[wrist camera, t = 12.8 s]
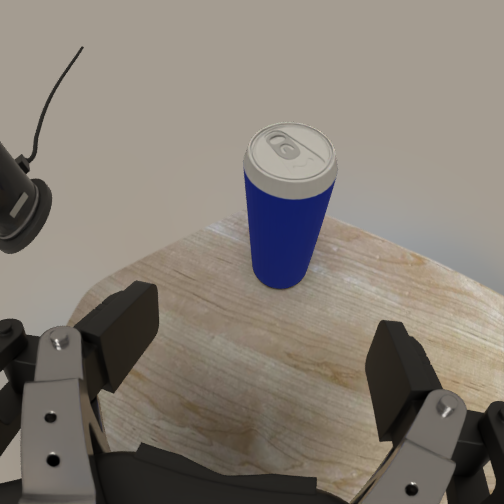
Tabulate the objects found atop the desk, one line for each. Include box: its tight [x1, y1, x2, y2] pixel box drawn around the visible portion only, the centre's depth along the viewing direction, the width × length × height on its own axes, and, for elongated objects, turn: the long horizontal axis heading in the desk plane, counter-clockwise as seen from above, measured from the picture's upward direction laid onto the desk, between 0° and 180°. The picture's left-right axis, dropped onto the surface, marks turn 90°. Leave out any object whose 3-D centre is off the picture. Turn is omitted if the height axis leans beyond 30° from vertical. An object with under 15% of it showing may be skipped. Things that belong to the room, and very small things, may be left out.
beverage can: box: [243, 122, 338, 289], centre depth 21 cm, size 5×5×15 cm
